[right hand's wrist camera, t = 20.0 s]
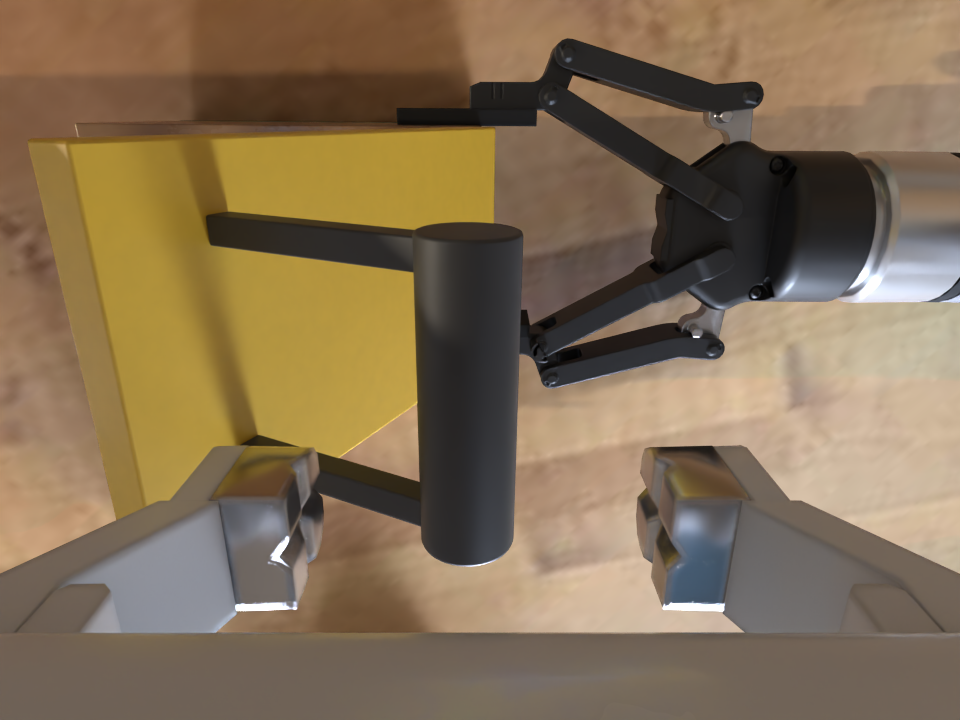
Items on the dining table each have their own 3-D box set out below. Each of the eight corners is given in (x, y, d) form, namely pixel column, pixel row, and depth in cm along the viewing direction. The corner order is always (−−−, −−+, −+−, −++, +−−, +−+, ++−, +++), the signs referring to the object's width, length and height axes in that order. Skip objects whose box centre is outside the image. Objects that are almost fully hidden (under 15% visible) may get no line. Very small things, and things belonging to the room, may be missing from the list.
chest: (210, 284, 41) (119, 342, 30) (185, 120, 37) (73, 123, 27) (479, 286, 41) (480, 344, 30) (480, 122, 37) (482, 126, 27)
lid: (125, 567, 15) (438, 712, 12) (24, 138, 12) (425, 154, 8) (468, 346, 30) (653, 380, 26) (469, 126, 27) (683, 130, 23)
